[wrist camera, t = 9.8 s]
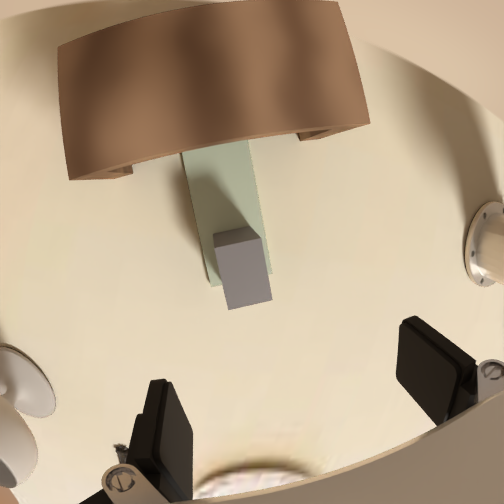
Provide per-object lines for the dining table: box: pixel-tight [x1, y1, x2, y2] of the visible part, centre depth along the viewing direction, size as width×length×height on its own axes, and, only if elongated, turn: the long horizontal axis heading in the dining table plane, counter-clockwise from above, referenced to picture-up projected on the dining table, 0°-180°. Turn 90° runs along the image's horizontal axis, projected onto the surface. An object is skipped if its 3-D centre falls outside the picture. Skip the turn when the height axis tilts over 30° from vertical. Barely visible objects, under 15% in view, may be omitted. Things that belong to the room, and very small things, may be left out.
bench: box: [58, 0, 370, 180], centre depth 21 cm, size 20×10×10 cm, turn 100°
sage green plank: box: [182, 140, 272, 310], centre depth 24 cm, size 6×22×7 cm, turn 10°
